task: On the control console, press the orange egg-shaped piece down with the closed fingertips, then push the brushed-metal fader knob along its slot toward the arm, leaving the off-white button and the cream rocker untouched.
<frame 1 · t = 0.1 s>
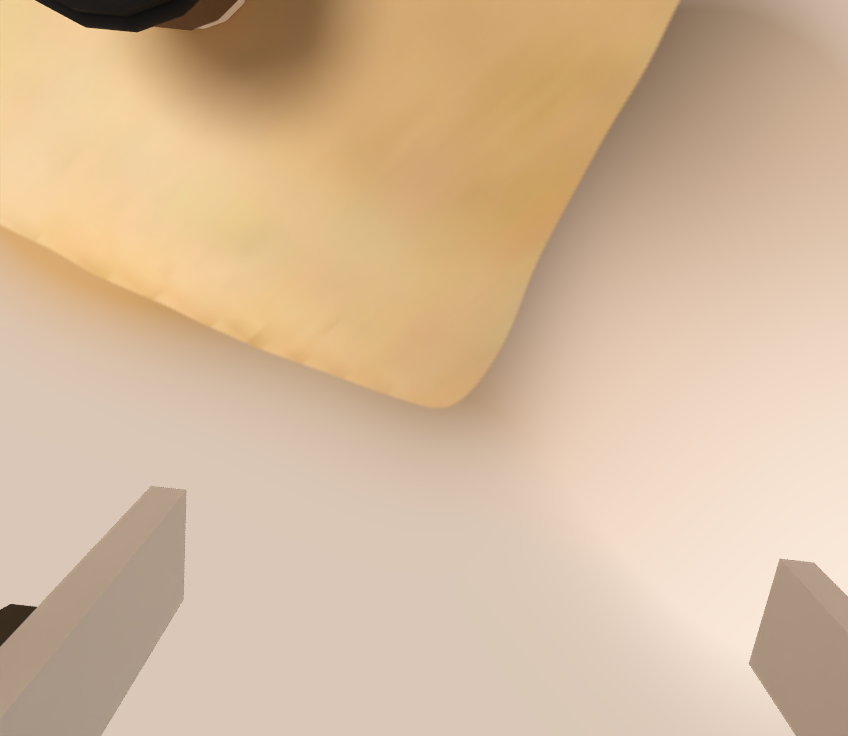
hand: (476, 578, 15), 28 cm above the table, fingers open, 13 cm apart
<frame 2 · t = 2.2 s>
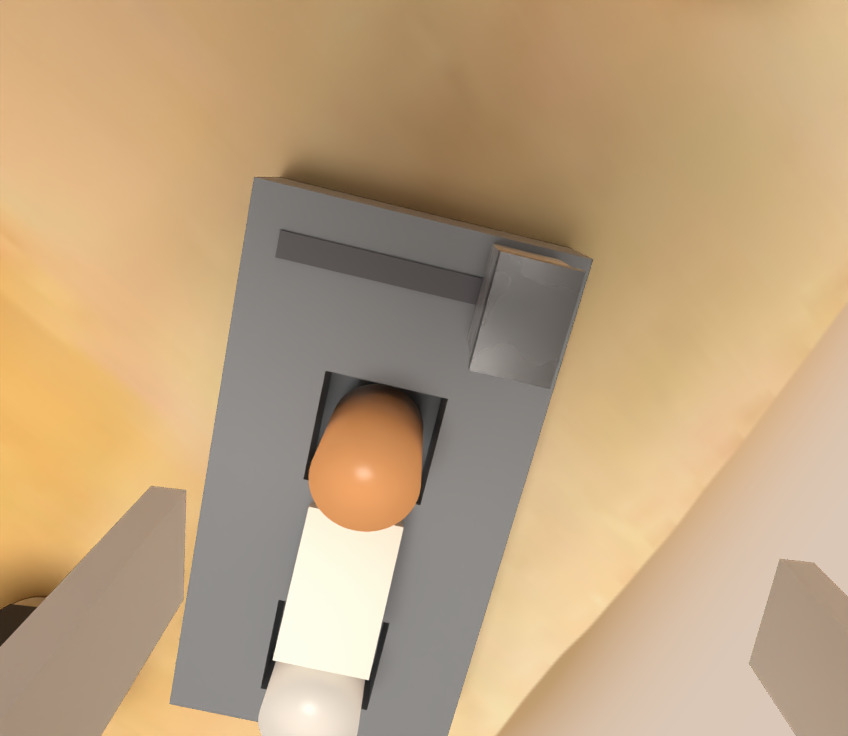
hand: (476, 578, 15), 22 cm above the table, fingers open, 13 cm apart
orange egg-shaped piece: (371, 452, 30), point 7 cm above the table, slide at 0.0 cm
rocker: (339, 588, 31), point 8 cm above the table, hinge at -18.0°
button white: (319, 676, 34), point 6 cm above the table, slide at 0.0 cm
fader: (518, 310, 27), point 8 cm above the table, slide at 0.0 cm
console: (368, 462, 37), on the table
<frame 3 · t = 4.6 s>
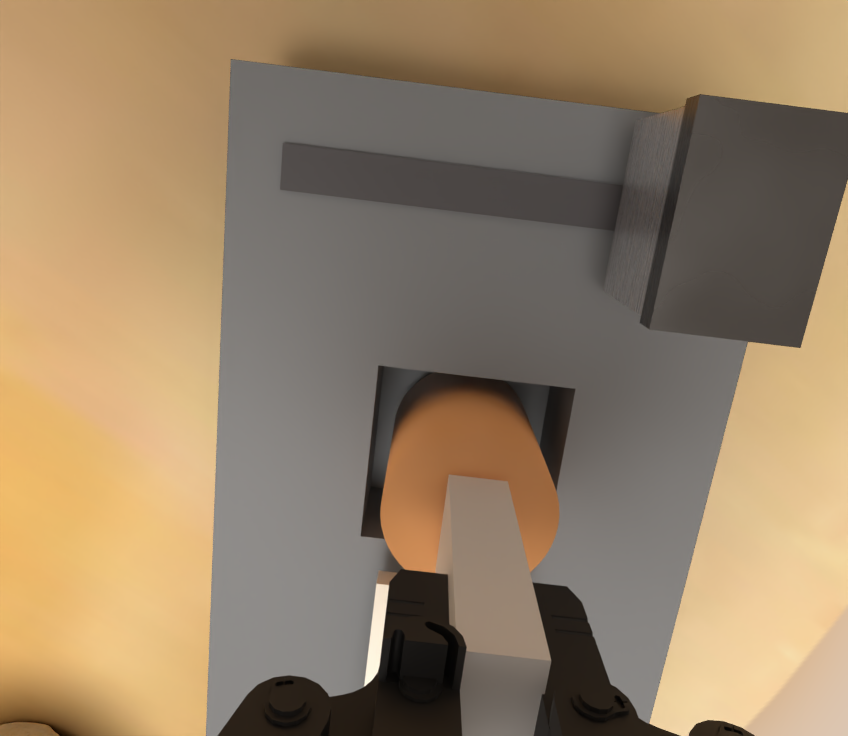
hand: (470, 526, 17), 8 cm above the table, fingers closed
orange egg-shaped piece: (464, 467, 20), point 5 cm above the table, slide at 1.3 cm, touching gripper
rocker: (438, 705, 20), point 8 cm above the table, hinge at -18.0°
fader: (708, 220, 16), point 8 cm above the table, slide at 0.0 cm
console: (446, 494, 26), on the table
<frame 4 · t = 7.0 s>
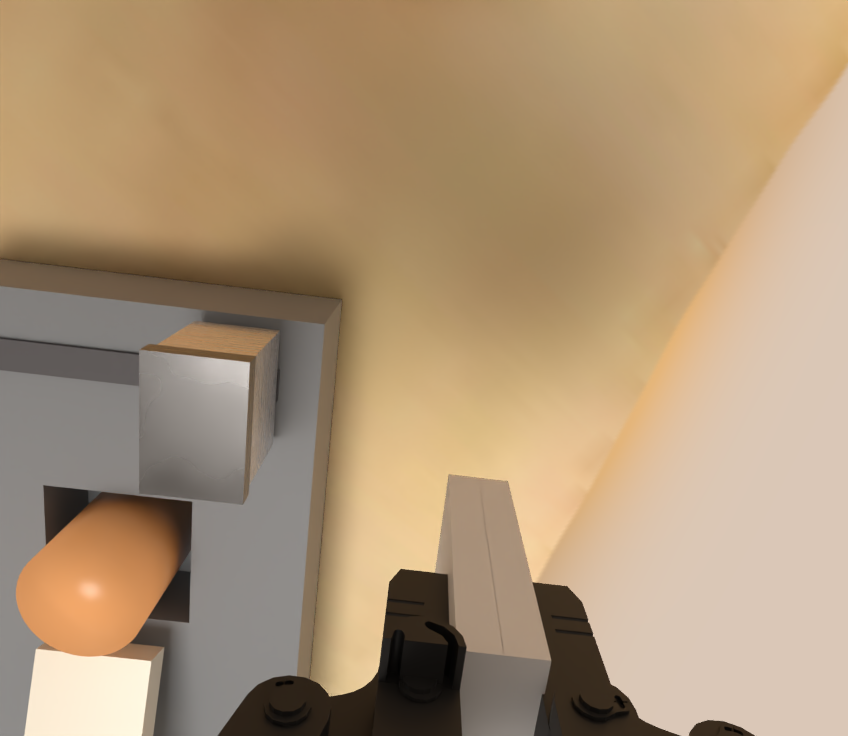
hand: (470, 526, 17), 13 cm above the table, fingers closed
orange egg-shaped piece: (118, 556, 27), point 5 cm above the table, slide at 1.5 cm
fader: (215, 404, 22), point 8 cm above the table, slide at 0.0 cm
console: (164, 562, 33), on the table
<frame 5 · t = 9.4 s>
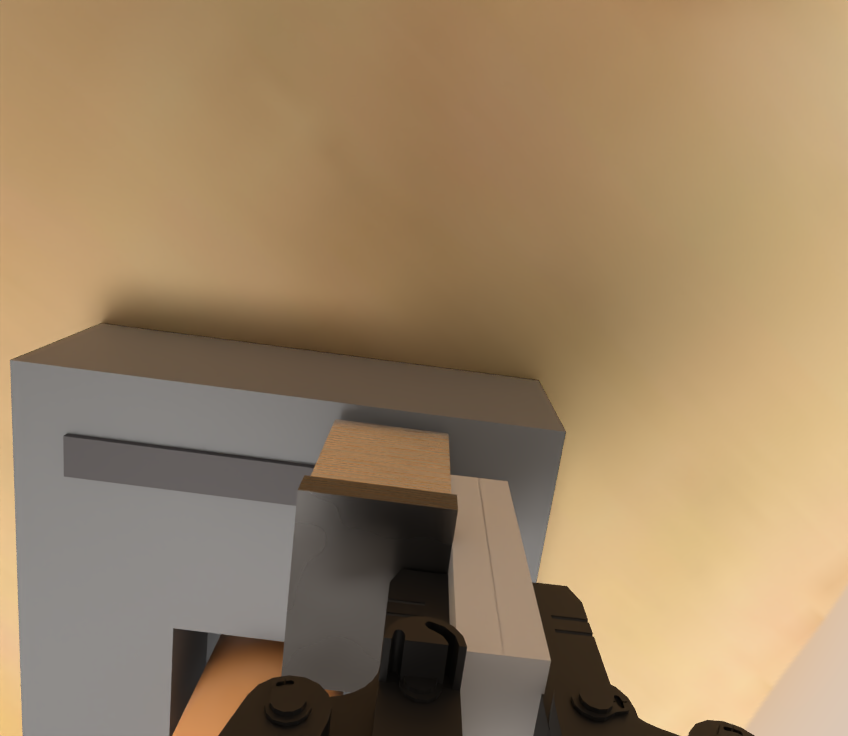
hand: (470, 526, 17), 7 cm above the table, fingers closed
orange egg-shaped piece: (263, 718, 21), point 5 cm above the table, slide at 1.5 cm
fader: (375, 544, 16), point 8 cm above the table, slide at 1.7 cm, touching gripper
console: (289, 693, 26), on the table
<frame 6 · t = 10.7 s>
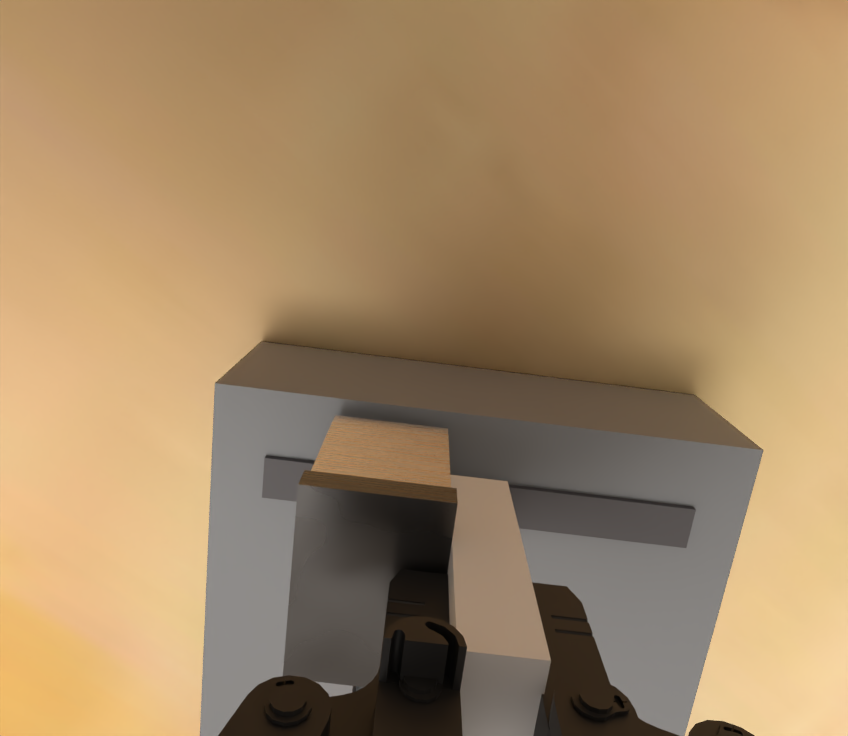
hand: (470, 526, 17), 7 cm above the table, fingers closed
fader: (375, 539, 16), point 8 cm above the table, slide at 7.2 cm, touching gripper
console: (428, 705, 27), on the table
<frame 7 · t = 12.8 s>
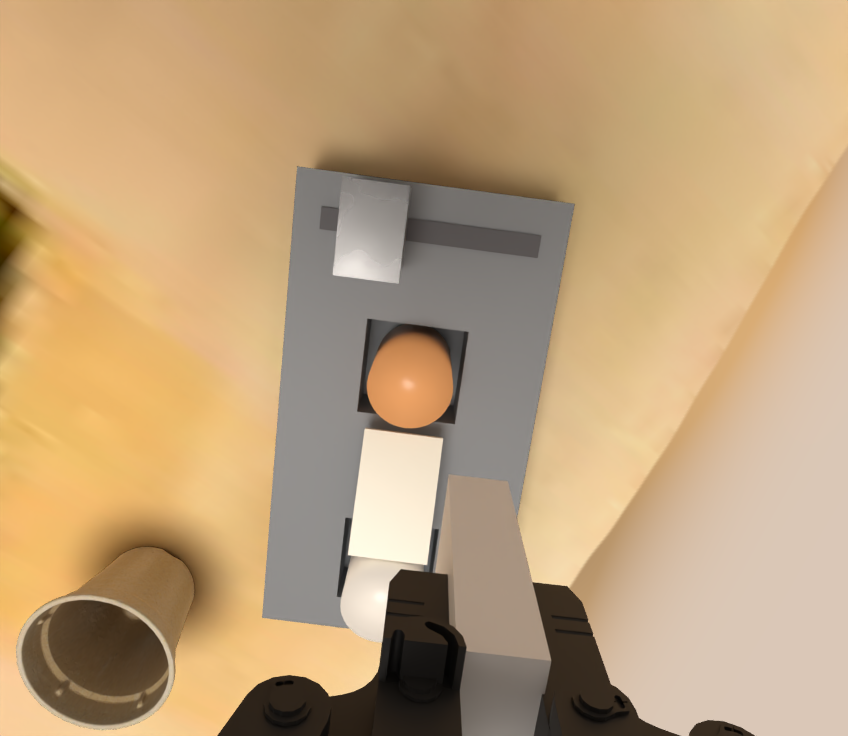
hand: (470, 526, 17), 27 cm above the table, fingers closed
flower pot: (154, 581, 48), on the table
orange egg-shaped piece: (411, 372, 39), point 5 cm above the table, slide at 1.5 cm
rocker: (396, 494, 38), point 8 cm above the table, hinge at -18.0°
button white: (385, 577, 40), point 6 cm above the table, slide at 0.0 cm
fader: (375, 228, 34), point 8 cm above the table, slide at 7.3 cm
console: (408, 402, 44), on the table
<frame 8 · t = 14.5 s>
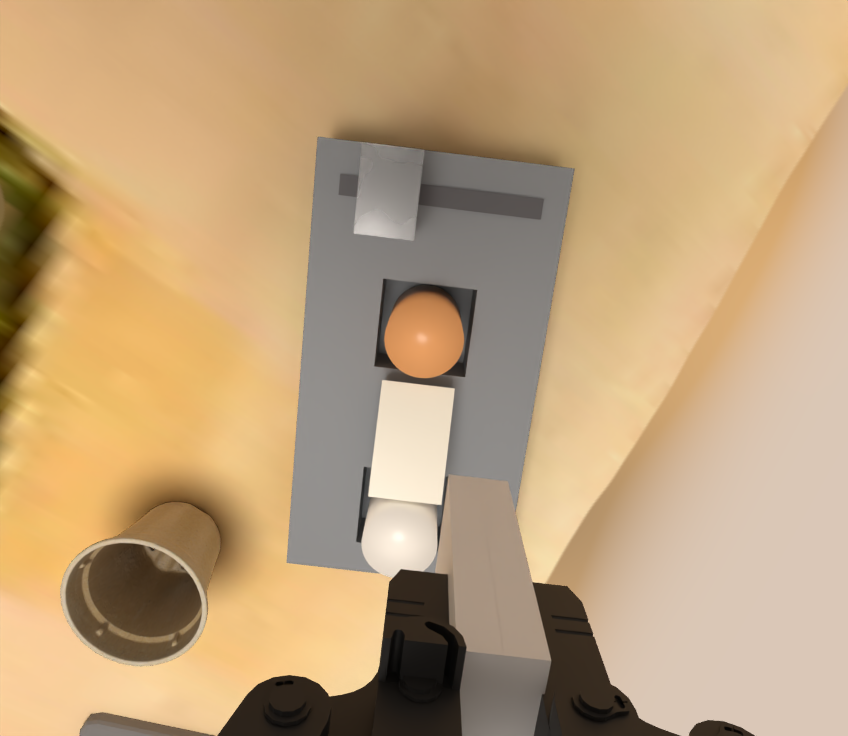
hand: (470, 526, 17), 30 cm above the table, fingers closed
flower pot: (183, 535, 52), on the table
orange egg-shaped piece: (424, 329, 42), point 5 cm above the table, slide at 1.5 cm
rocker: (411, 441, 41), point 8 cm above the table, hinge at -18.0°
button white: (401, 520, 43), point 6 cm above the table, slide at 0.0 cm
fader: (391, 191, 37), point 8 cm above the table, slide at 7.3 cm
console: (420, 362, 47), on the table
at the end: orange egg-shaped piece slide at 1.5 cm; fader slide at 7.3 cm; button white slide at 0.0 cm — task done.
